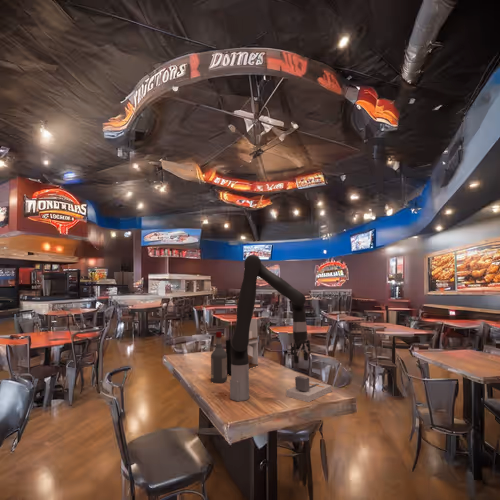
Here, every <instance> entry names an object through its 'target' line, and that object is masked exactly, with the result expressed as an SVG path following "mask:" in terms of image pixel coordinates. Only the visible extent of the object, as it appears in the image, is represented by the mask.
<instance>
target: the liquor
mask: <svg viewBox="0 0 500 500" xmlns="http://www.w3.org/2000/svg"><path fill="white" fill-rule="evenodd" d="M222 335H223V332H222V331H216V332H215V339H216V342H215V343H216V344H215V349H214V350H213V351H212V352H211V354H210V381H211V383H212V382H213V384H223V383H224V382H225V383H226V382H227V380H228V375H227V353H226V349H224V347H223V346H222ZM225 383H224V384H225Z"/></svg>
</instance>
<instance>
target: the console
mask: <svg viewBox="0 0 500 500" xmlns="http://www.w3.org/2000/svg"><path fill="white" fill-rule="evenodd" d="M309 387H310V390H308V391H306V392H305V391H301V390H297V389H296V386H292V387H290V388H288V389H286V391H285V394H286V397H288V398H293V399H295V400H299V401H302V402H303V401H304V402H305V403H310V402H313V401H315V400H316V399H319V398H321V397H323V396H325V395H328V394H330V393H332V392H333V389H332V385H331V384H325V383H321V382H317V381H311V380H309ZM312 400H313V401H312Z"/></svg>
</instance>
